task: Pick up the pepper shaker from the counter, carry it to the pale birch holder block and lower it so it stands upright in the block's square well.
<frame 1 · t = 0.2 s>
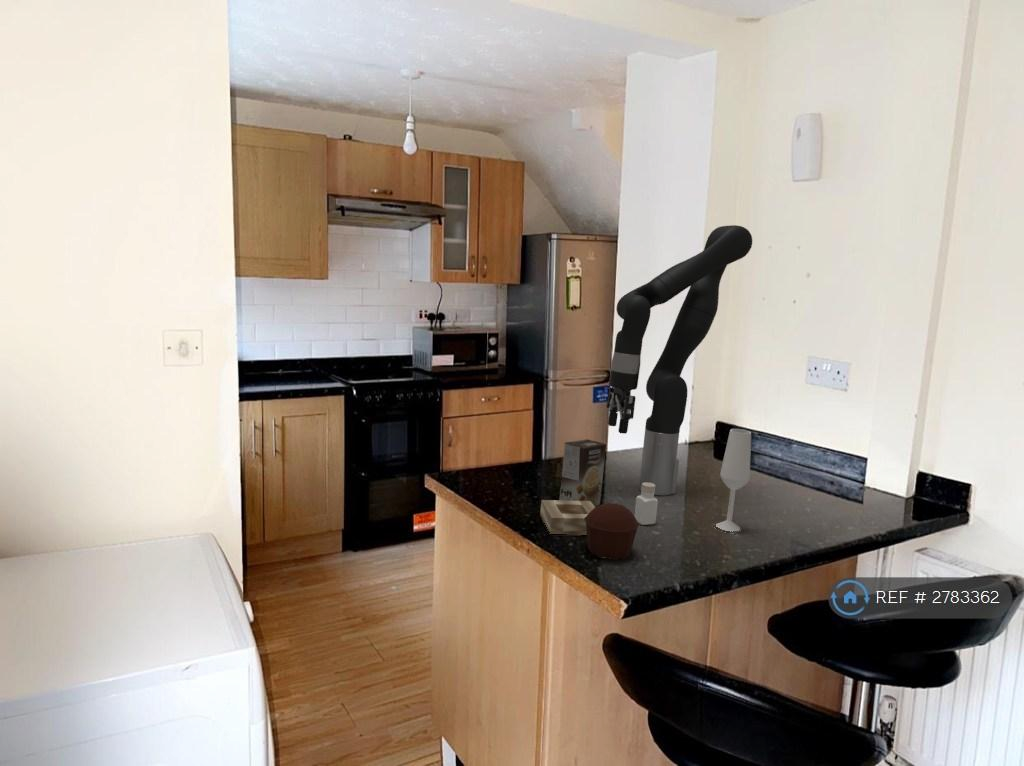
hand: (617, 429, 188), 17 cm above the table, tool pointing down, fingers open, 8 cm apart
champagne flute: (728, 529, 168), on the table
muffin: (608, 552, 148), on the table
pepper shaker: (644, 523, 167), on the table
birch holder: (570, 525, 161), on the table
coffee box: (579, 505, 177), on the table
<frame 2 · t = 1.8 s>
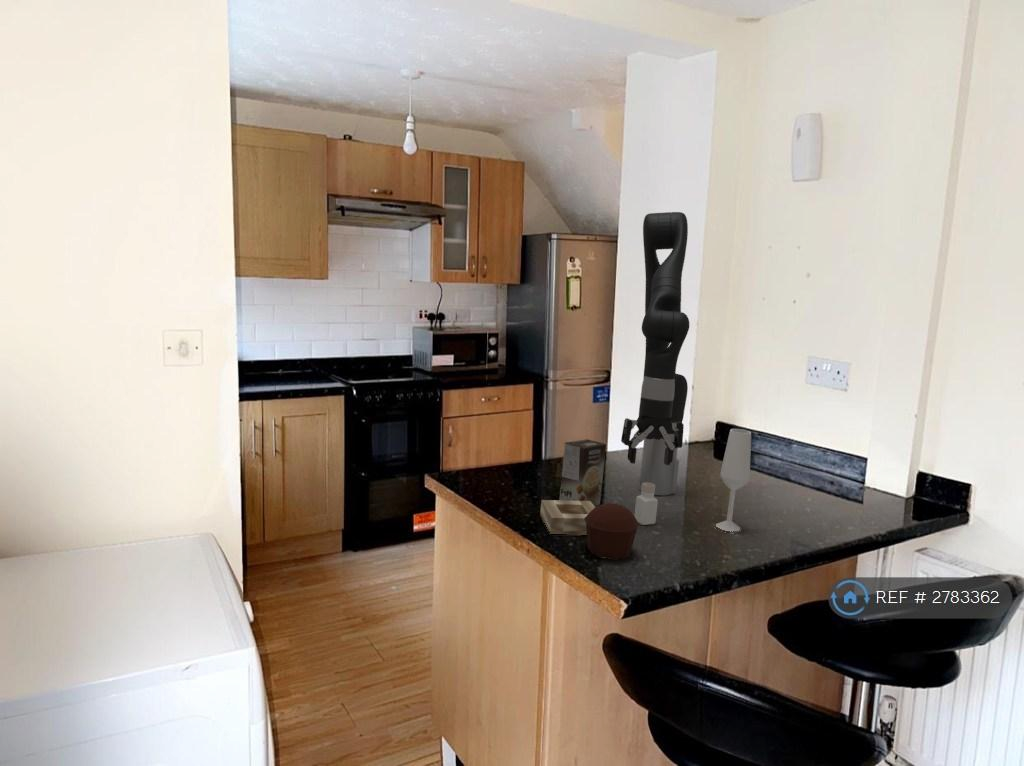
hand: (649, 463, 165), 15 cm above the table, tool pointing down, fingers open, 8 cm apart
nothing on the table moved.
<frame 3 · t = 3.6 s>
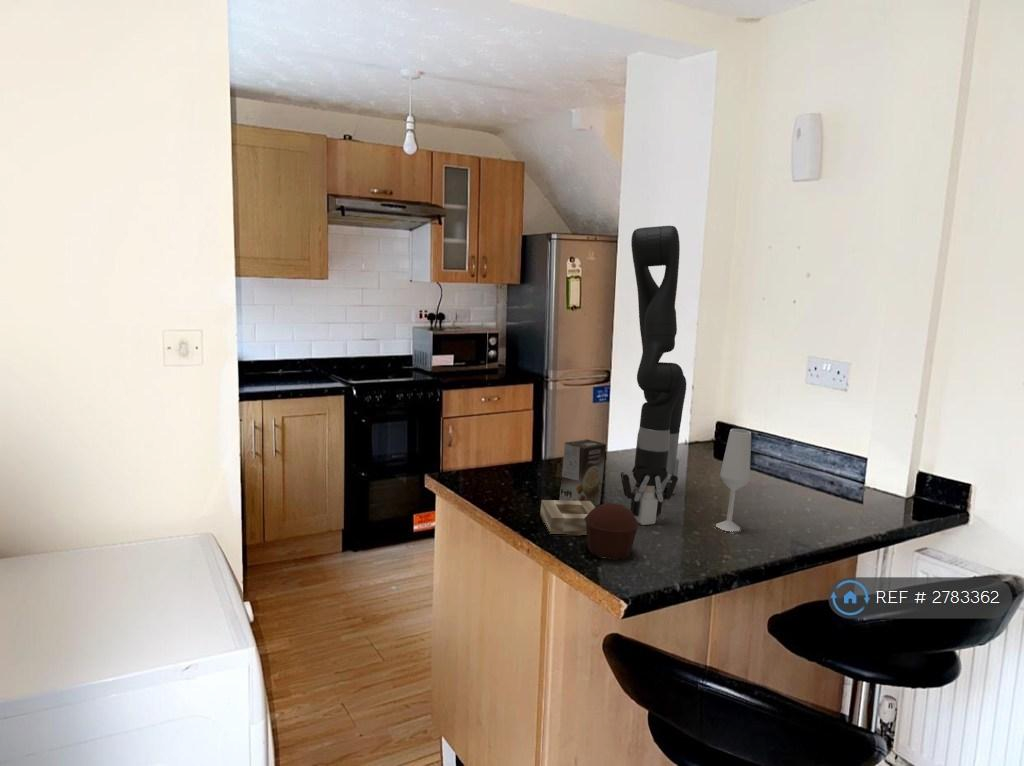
hand: (645, 515, 167), 2 cm above the table, tool pointing down, fingers closed on pepper shaker, 4 cm apart
pepper shaker: (644, 523, 167), on the table, touching gripper
everything else where it was.
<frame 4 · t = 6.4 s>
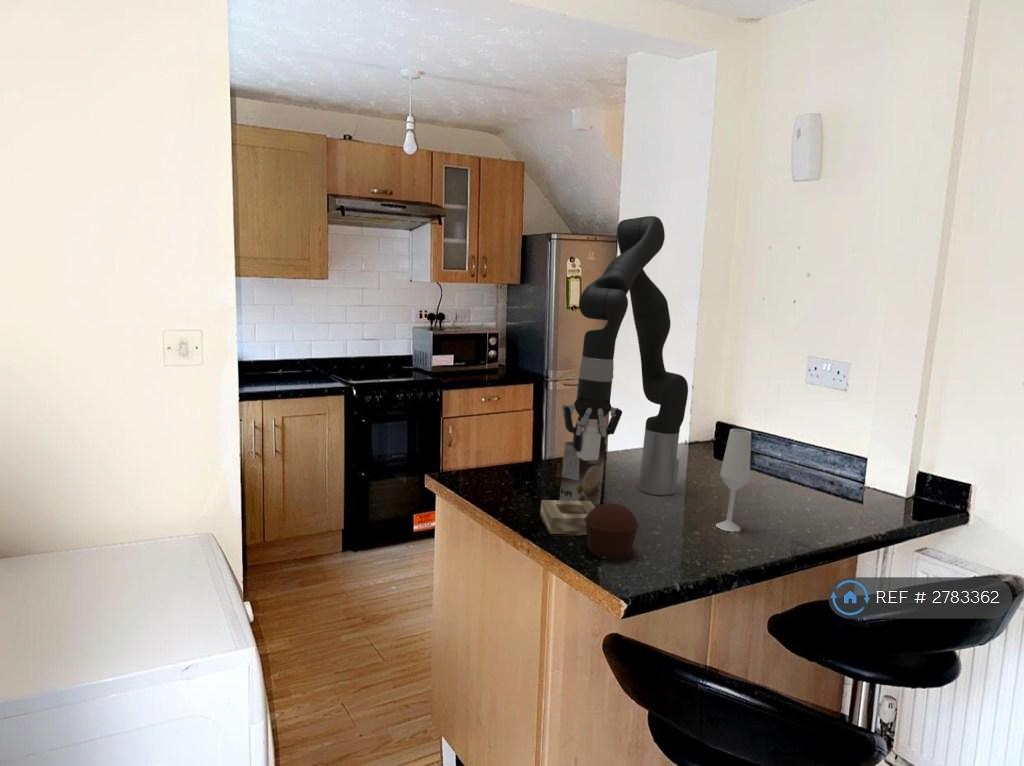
hand: (587, 450, 159), 18 cm above the table, tool pointing down, fingers closed on pepper shaker, 4 cm apart
pepper shaker: (587, 459, 159), point 16 cm above the table, touching gripper
everything else where it was.
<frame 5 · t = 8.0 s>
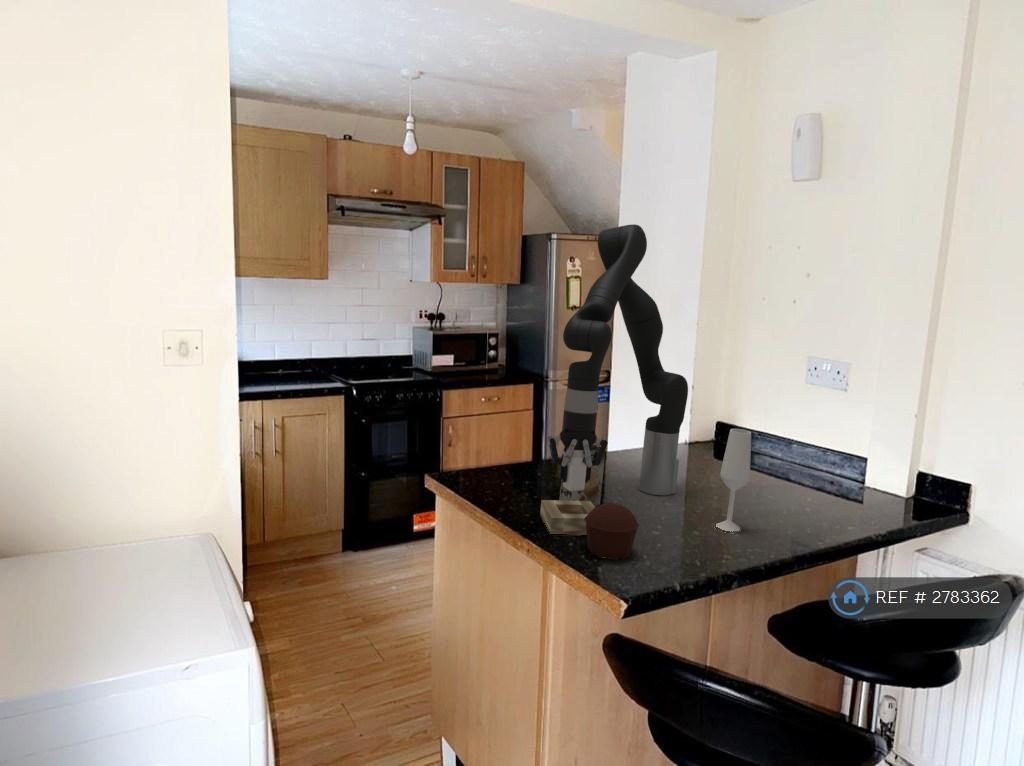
hand: (573, 481, 160), 11 cm above the table, tool pointing down, fingers closed on pepper shaker, 4 cm apart
pepper shaker: (573, 489, 160), point 9 cm above the table, touching gripper
everything else where it was.
when the fingers open (5 cm above the table, at t = 9.4 s): pepper shaker drops 2 cm, point 1 cm above the table.
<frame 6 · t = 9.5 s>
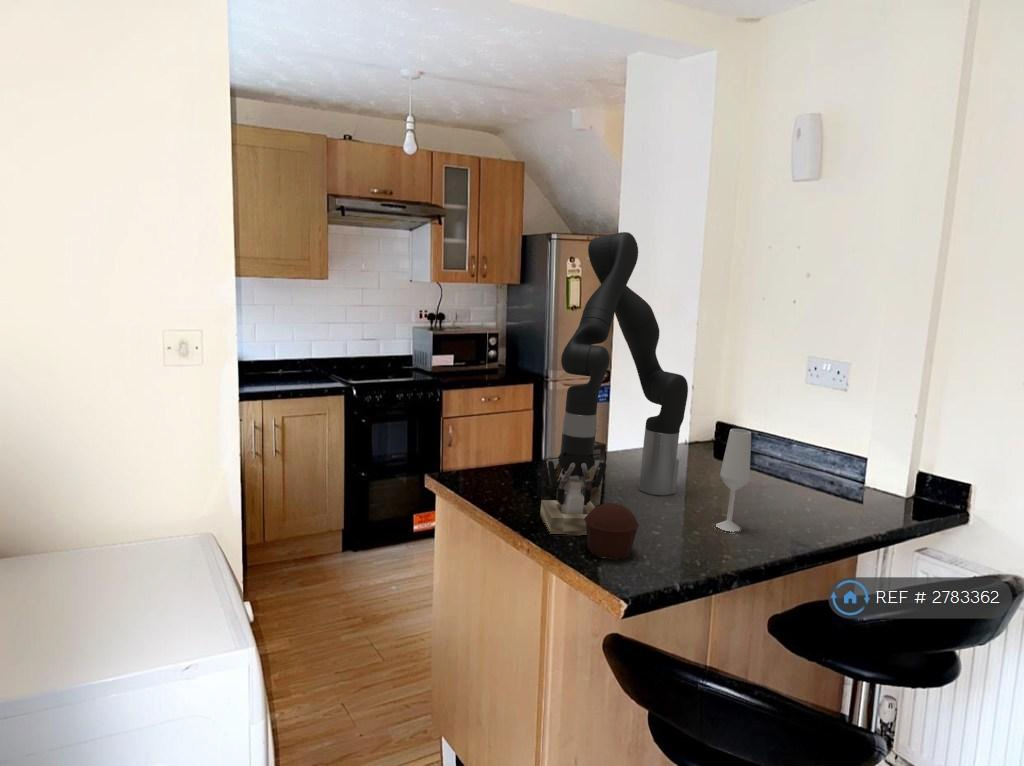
hand: (572, 503, 160), 5 cm above the table, tool pointing down, fingers open, 5 cm apart
pepper shaker: (571, 520, 161), point 1 cm above the table
everything else where it was.
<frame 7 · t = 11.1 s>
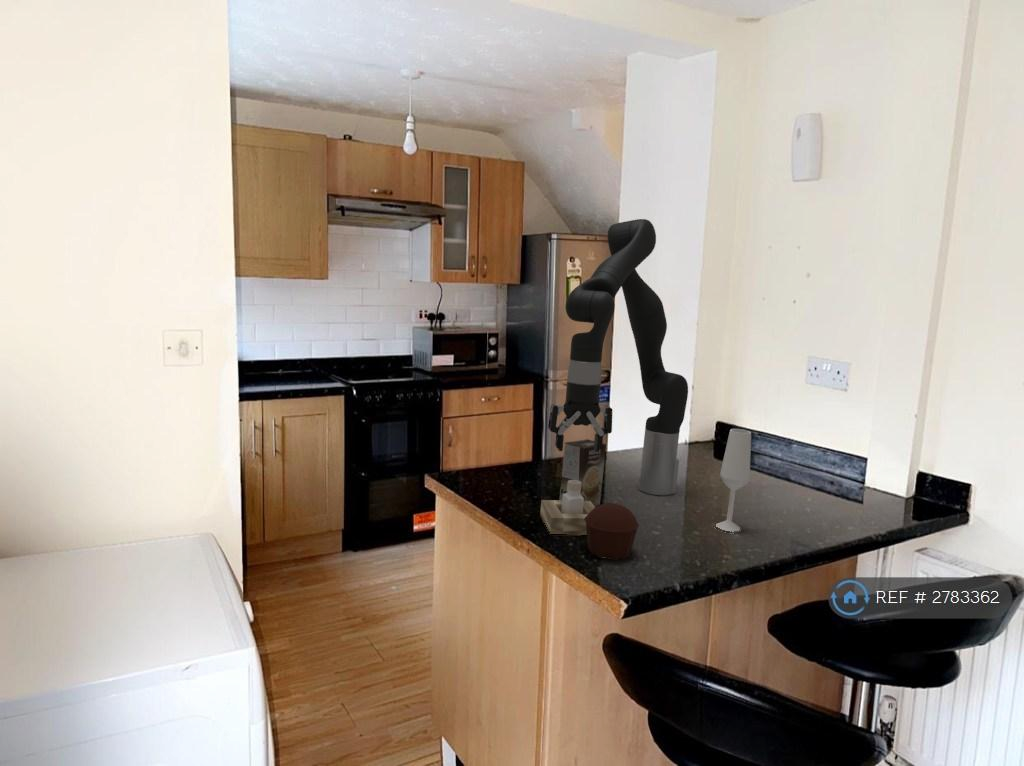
hand: (578, 450, 158), 18 cm above the table, tool pointing down, fingers open, 8 cm apart
pepper shaker: (570, 522, 161), point 1 cm above the table, touching birch holder
everything else where it was.
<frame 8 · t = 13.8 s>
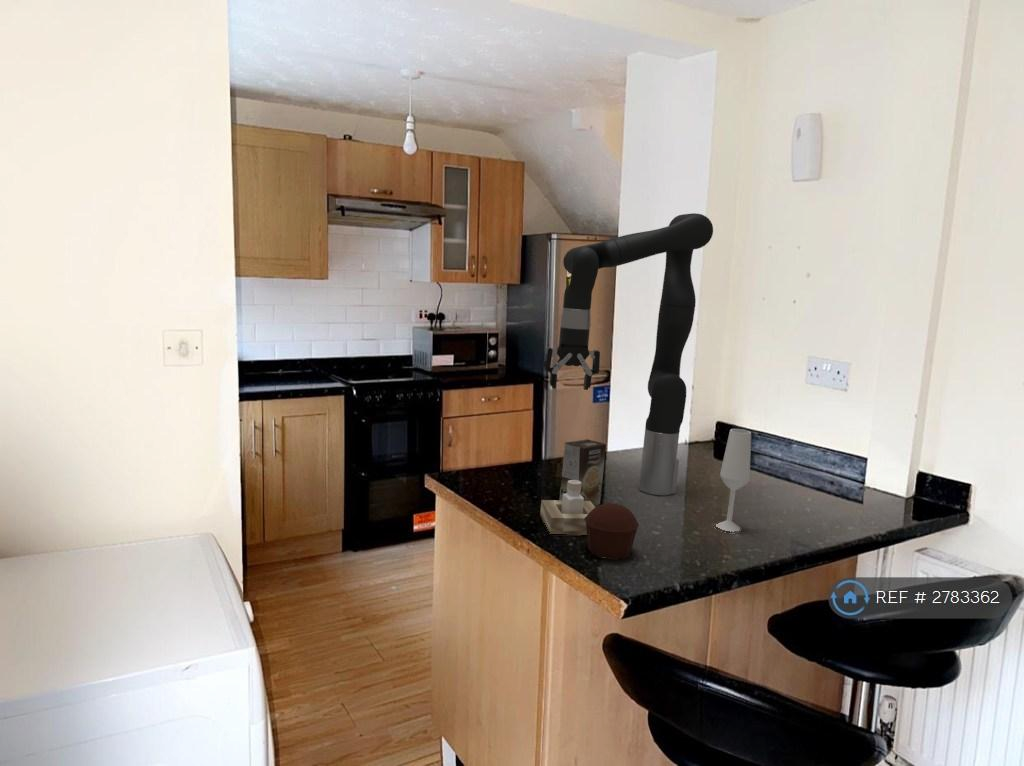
hand: (569, 388, 181), 28 cm above the table, tool pointing down, fingers open, 8 cm apart
nothing on the table moved.
at the end: pepper shaker 0.1 cm off-centre on the birch holder, point 0.8 cm above the birch holder's base; pepper shaker tilted 0°; the gripper is holding nothing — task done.
